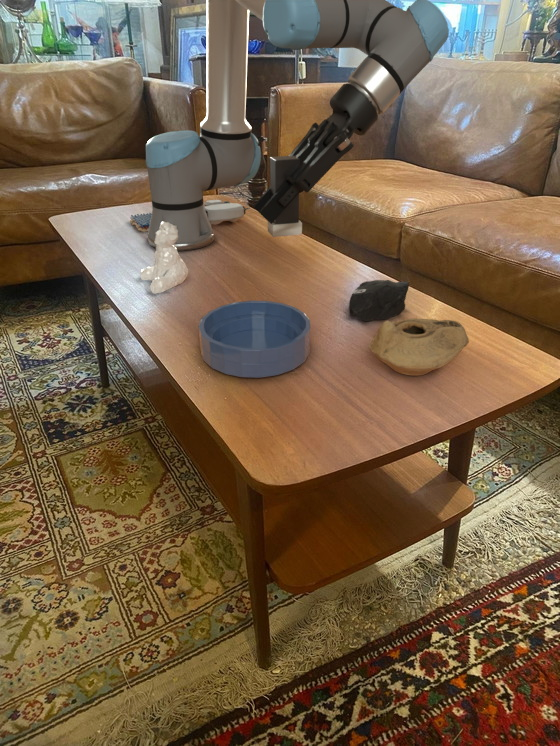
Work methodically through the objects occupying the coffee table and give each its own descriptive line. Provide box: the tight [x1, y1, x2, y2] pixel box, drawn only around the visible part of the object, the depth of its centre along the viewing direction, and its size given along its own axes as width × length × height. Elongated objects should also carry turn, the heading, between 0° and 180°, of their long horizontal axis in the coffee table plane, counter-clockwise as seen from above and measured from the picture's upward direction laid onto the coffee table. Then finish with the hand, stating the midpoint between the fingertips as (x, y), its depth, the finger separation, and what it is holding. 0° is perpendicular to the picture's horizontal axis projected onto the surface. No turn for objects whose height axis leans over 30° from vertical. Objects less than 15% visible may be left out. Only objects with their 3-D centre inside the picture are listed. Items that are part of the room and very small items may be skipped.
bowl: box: [198, 300, 311, 379], centre depth 82 cm, size 16×16×5 cm
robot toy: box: [203, 199, 251, 225], centre depth 143 cm, size 12×4×15 cm
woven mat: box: [129, 212, 152, 233], centre depth 140 cm, size 10×11×2 cm
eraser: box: [267, 155, 303, 238], centre depth 89 cm, size 5×4×12 cm
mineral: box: [348, 279, 410, 322], centre depth 94 cm, size 10×9×6 cm
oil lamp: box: [368, 318, 470, 376], centre depth 78 cm, size 11×15×8 cm
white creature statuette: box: [140, 221, 189, 295], centre depth 104 cm, size 10×9×12 cm
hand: (262, 214), depth 90 cm, fingers closed on eraser, 3 cm apart
